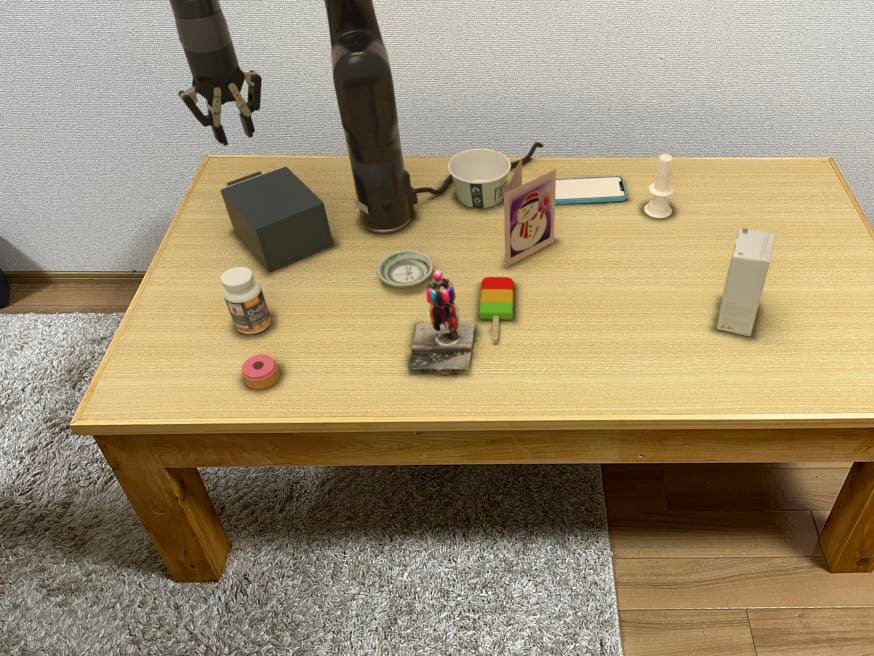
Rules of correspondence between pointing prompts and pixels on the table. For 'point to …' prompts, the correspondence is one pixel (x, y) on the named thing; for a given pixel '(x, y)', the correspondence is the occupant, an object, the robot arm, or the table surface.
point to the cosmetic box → (745, 281)
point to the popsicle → (496, 301)
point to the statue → (442, 332)
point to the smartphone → (590, 190)
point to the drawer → (245, 178)
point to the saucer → (405, 268)
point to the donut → (260, 371)
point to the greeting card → (528, 214)
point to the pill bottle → (245, 300)
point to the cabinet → (278, 218)
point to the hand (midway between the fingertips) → (236, 139)
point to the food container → (479, 176)
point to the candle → (661, 189)
